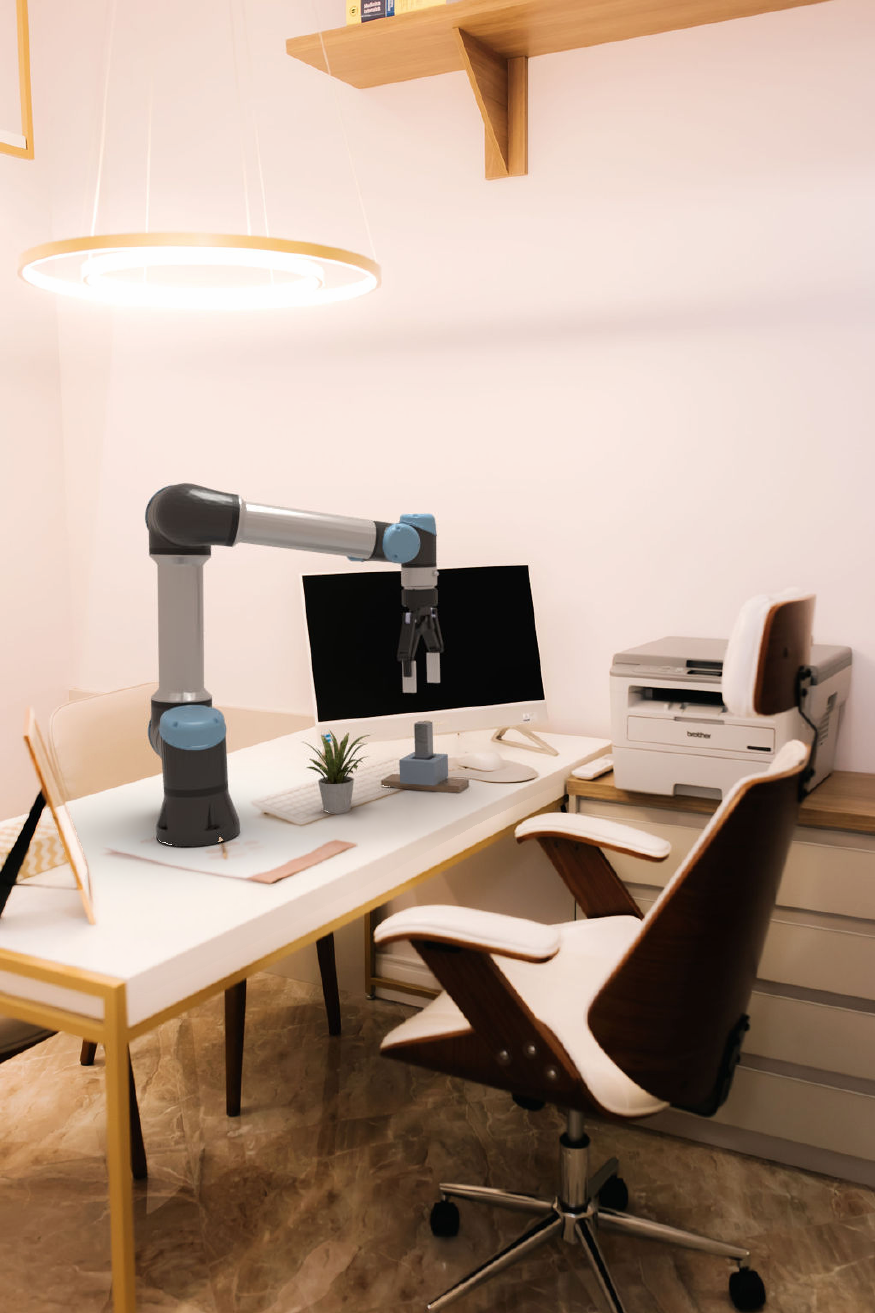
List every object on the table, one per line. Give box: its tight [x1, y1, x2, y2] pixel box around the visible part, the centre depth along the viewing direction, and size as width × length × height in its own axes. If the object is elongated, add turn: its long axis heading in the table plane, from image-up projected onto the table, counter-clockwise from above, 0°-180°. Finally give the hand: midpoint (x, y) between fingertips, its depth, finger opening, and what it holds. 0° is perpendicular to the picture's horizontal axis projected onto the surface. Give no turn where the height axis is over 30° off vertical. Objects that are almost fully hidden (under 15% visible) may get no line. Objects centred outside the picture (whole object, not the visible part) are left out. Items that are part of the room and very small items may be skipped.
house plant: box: [302, 729, 371, 815], centre depth 207 cm, size 14×14×16 cm
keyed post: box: [380, 720, 470, 794], centre depth 224 cm, size 6×18×14 cm, turn 69°
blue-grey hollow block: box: [398, 751, 449, 786], centre depth 225 cm, size 8×8×5 cm
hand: (422, 687), depth 222 cm, fingers open, 13 cm apart
